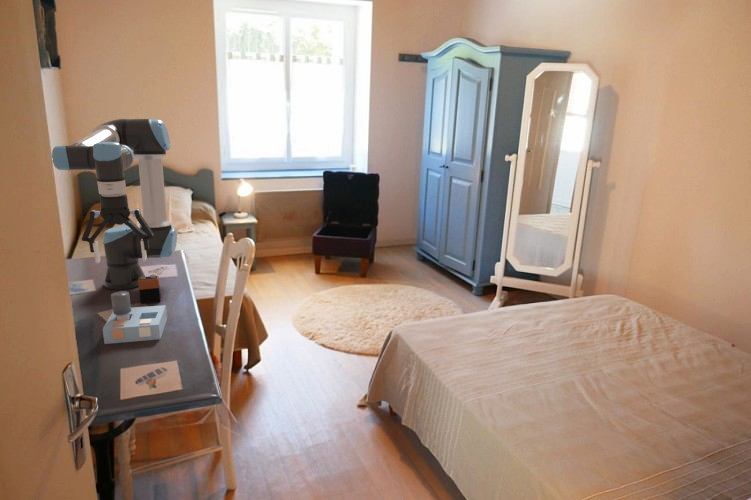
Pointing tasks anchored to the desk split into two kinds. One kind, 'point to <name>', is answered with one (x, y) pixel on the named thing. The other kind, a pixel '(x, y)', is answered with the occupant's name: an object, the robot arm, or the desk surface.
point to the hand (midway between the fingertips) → (121, 260)
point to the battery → (149, 289)
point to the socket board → (136, 325)
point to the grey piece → (121, 305)
